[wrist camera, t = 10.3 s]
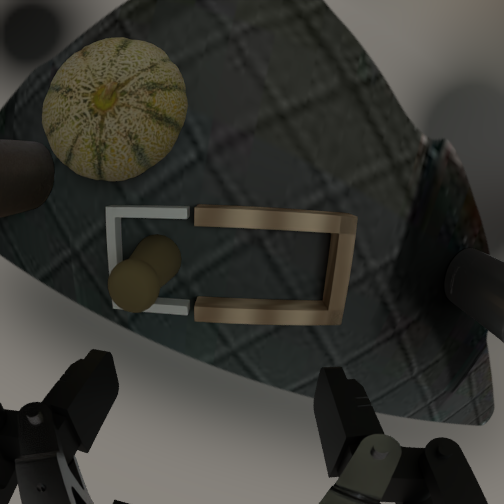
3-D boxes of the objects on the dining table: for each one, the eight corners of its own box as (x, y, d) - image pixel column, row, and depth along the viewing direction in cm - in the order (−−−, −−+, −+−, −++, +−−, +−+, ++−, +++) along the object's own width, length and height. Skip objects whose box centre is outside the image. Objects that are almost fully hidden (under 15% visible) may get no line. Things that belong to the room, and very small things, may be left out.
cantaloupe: (76, 92, 30) (4, 66, 16) (180, 47, 29) (147, -16, 15) (101, 196, 34) (28, 215, 19) (212, 155, 33) (190, 145, 19)
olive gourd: (164, 290, 37) (139, 333, 27) (127, 262, 36) (89, 296, 26) (191, 254, 36) (171, 288, 26) (151, 224, 35) (116, 247, 24)
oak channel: (348, 213, 36) (357, 217, 33) (334, 314, 39) (340, 324, 36) (198, 204, 35) (194, 207, 32) (197, 310, 38) (194, 321, 35)
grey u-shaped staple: (190, 206, 35) (187, 208, 33) (190, 308, 38) (187, 315, 36) (112, 204, 34) (105, 207, 32) (118, 302, 38) (113, 308, 36)
